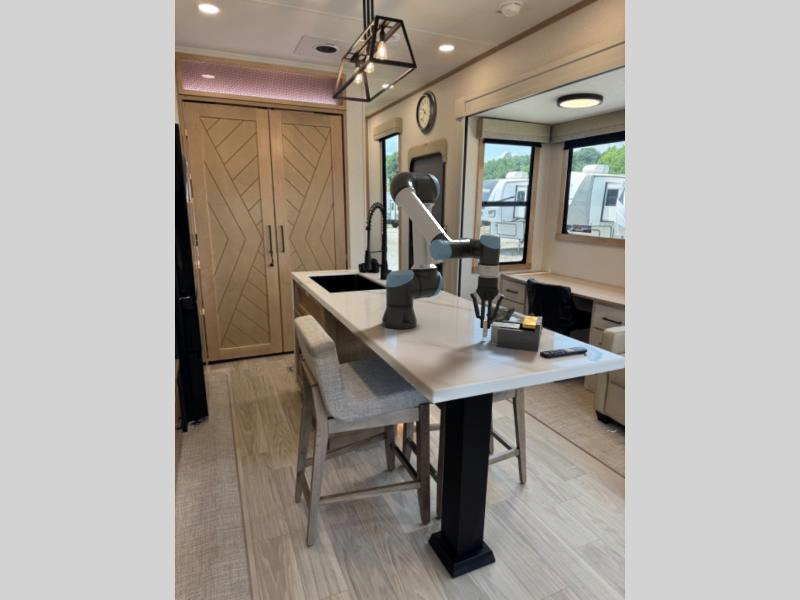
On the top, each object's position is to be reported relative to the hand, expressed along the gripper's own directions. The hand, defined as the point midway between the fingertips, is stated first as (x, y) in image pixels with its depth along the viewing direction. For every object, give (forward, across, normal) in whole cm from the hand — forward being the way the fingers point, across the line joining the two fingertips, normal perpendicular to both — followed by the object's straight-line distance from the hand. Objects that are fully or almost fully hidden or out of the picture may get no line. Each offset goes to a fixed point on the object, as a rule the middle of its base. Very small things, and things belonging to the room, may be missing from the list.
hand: (484, 336), depth 170 cm
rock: (+2, +1, +33) cm, 33 cm away
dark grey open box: (+2, +13, 0) cm, 13 cm away
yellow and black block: (+2, +14, +21) cm, 26 cm away
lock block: (+2, +8, 0) cm, 8 cm away
